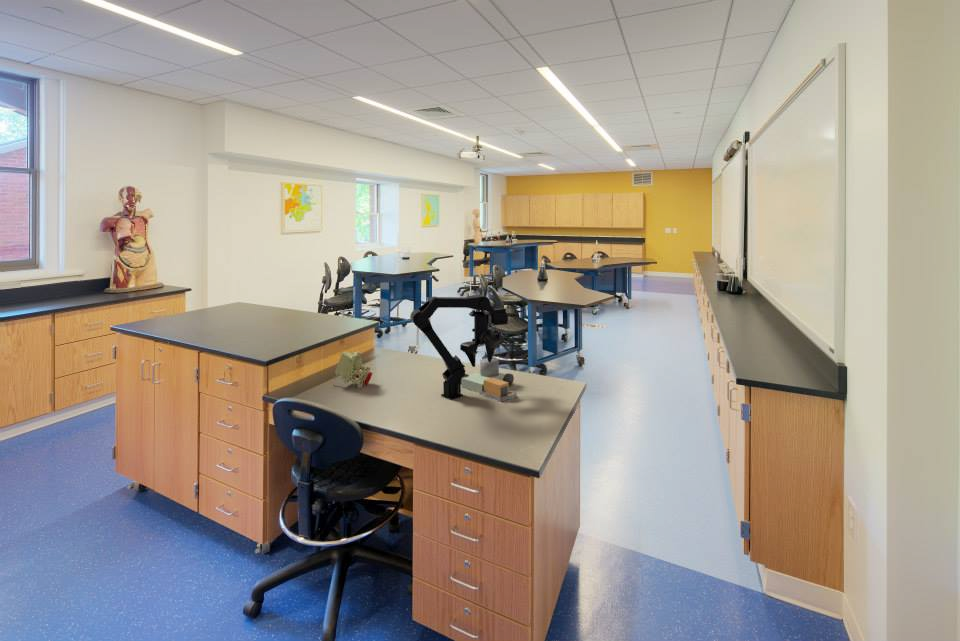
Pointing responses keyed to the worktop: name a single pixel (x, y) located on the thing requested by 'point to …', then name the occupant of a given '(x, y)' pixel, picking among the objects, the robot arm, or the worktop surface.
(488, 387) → the tan wooden brick
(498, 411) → the worktop surface
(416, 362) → the worktop surface
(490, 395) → the bracket
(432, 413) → the worktop surface
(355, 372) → the mechanical component
